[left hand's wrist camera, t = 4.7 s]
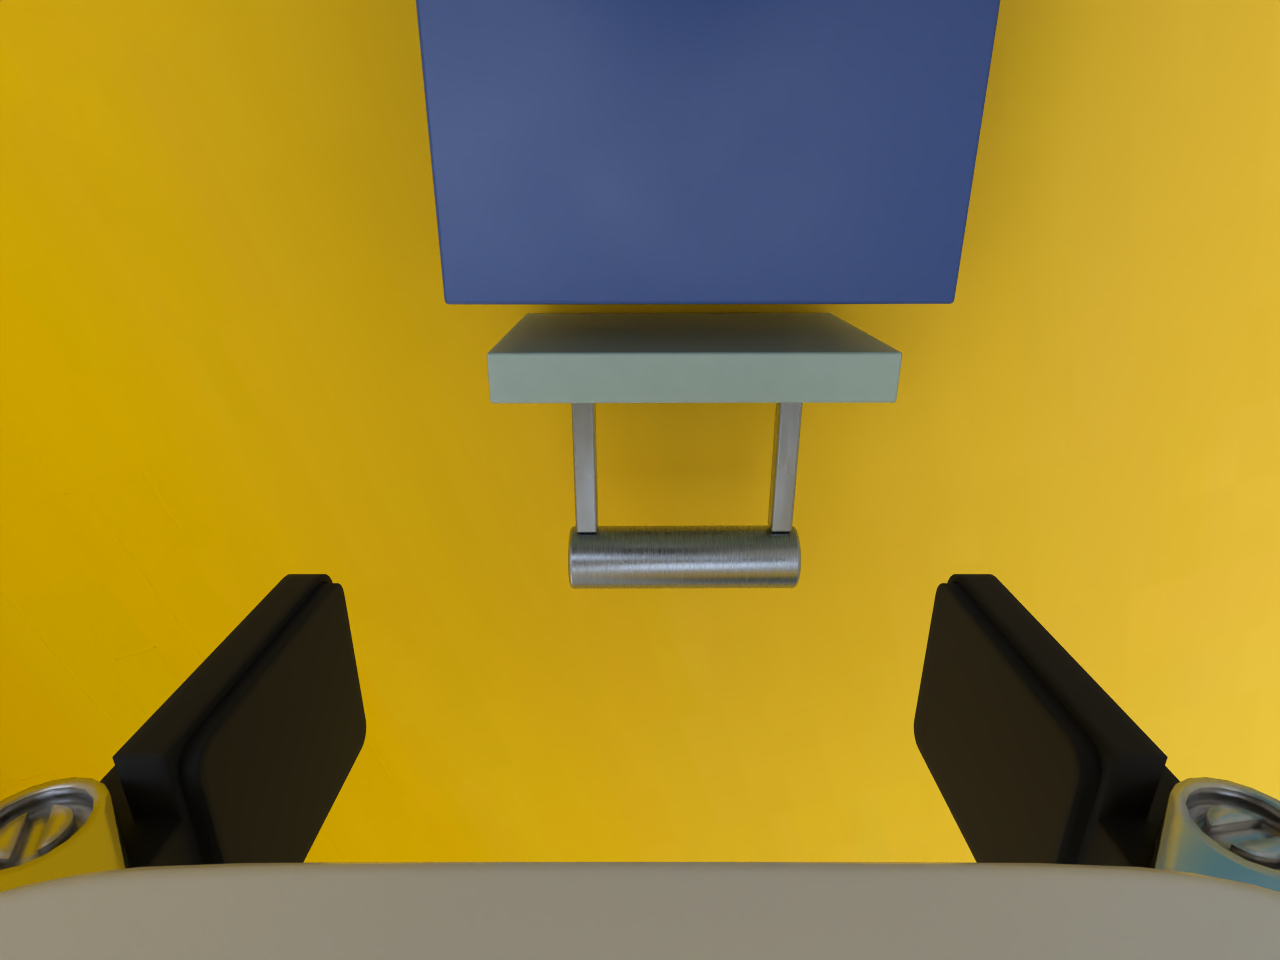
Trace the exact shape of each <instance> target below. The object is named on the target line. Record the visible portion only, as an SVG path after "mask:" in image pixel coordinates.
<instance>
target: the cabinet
mask: <svg viewBox="0 0 1280 960" xmlns="http://www.w3.org/2000/svg"><path fill="white" fill-rule="evenodd" d="M999 5H1000V0H416V6H417V17H418V27H419V37H420V48H421V58H422V69H423V79H424V90H425V100H426V110H427V121H428V131H429V142H430V152H431V162H432V173H433V183H434V194H435V204H436V214H437V225H438V235H439V246H440V256H441V267H442V277H443V287H444V298H445V302H446V303H447V304H950V303H953V301H954V297H955V291H956V284H957V278H958V271H959V265H960V258H961V252H962V245H963V239H964V232H965V226H966V219H967V213H968V206H969V200H970V193H971V187H972V180H973V174H974V167H975V161H976V154H977V148H978V141H979V135H980V128H981V122H982V115H983V109H984V102H985V96H986V89H987V83H988V76H989V70H990V63H991V57H992V50H993V44H994V37H995V31H996V24H997V18H998V11H999Z"/></svg>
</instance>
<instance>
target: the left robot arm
mask: <svg viewBox="0 0 1280 960" xmlns="http://www.w3.org/2000/svg"><path fill="white" fill-rule="evenodd" d="M365 735H366V719H365V713H364V708H363V702H362V696H361V690H360V684H359V678H358V672H357V666H356V660H355V655H354V649H353V643H352V637H351V631H350V625H349V619H348V613H347V607H346V602H345V596H344V591H343V588H342V586H341V585H340V584H339V583H332V580H331V579H330V577H329V576H328V575H326V574H288V575H287V576H285V577H284V578H283V579H282V580H281V581H280V582H279V583H278V584H277V585H276V586H275V587H274V588H273V589H272V590H271V592H270V593H269V594H268V595H267V596H266V597H265V598H264V599H263V600H262V601H261V602H260V603H259V604H258V605H257V606H256V607H255V608H254V609H253V610H252V611H251V612H250V614H249V615H248V616H247V617H246V618H245V619H244V620H243V621H242V622H241V623H240V624H239V625H238V626H237V627H236V628H235V629H234V630H233V631H232V632H231V633H230V634H229V636H228V637H227V638H226V639H225V640H224V641H223V642H222V643H221V644H220V645H219V646H218V647H217V648H216V649H215V650H214V651H213V652H212V653H211V654H210V655H209V656H208V658H207V659H206V660H205V661H204V662H203V663H202V664H201V665H200V666H199V667H198V668H197V669H196V670H195V671H194V672H193V673H192V674H191V675H190V676H189V677H188V678H187V680H186V681H185V682H184V683H183V684H182V685H181V686H180V687H179V688H178V689H177V690H176V691H175V692H174V693H173V694H172V695H171V696H170V697H169V698H168V699H167V700H166V702H165V703H164V704H163V705H162V706H161V707H160V708H159V709H158V710H157V711H156V712H155V713H154V714H153V715H152V716H151V717H150V718H149V719H148V720H147V721H146V722H145V724H144V725H143V726H142V727H141V728H140V729H139V730H138V731H137V732H136V733H135V734H134V735H133V736H132V737H131V738H130V739H129V740H128V741H127V742H126V743H125V744H124V746H123V747H122V748H121V749H120V750H119V751H118V752H117V753H116V754H115V755H114V756H113V760H114V763H115V766H114V767H113V768H112V769H111V770H110V771H109V773H108V774H107V775H106V776H105V777H104V778H103V779H102V780H101V781H100V782H99V781H96V780H94V779H92V778H77V777H73V778H66V779H59V780H53V781H49V782H46V783H43V784H40V785H36V786H33V787H30V788H27V789H25V790H23V791H21V792H18V793H16V794H14V795H12V796H10V797H8V798H5V799H3V800H2V801H0V960H1280V801H1278V800H1277V799H1275V798H1272V797H1270V796H1268V795H1266V794H1264V793H1262V792H1259V791H1257V790H1255V789H1253V788H1250V787H1247V786H1244V785H1240V784H1237V783H1234V782H1231V781H1227V780H1221V779H1214V778H1207V777H1203V778H1188V779H1186V780H1184V781H1181V782H1180V781H1179V780H1178V779H1177V778H1176V777H1175V776H1174V775H1173V774H1172V773H1171V771H1170V770H1169V769H1168V768H1167V767H1166V766H1165V763H1166V760H1167V756H1166V755H1165V754H1164V753H1163V752H1162V751H1161V750H1160V749H1159V748H1158V747H1157V746H1156V744H1155V743H1154V742H1153V741H1152V740H1151V739H1150V738H1149V737H1148V736H1147V735H1146V734H1145V733H1144V732H1143V731H1142V730H1141V729H1140V728H1139V727H1138V726H1137V725H1136V724H1135V722H1134V721H1133V720H1132V719H1131V718H1130V717H1129V716H1128V715H1127V714H1126V713H1125V712H1124V711H1123V710H1122V709H1121V708H1120V707H1119V706H1118V705H1117V704H1116V703H1115V702H1114V700H1113V699H1112V698H1111V697H1110V696H1109V695H1108V694H1107V693H1106V692H1105V691H1104V690H1103V689H1102V688H1101V687H1100V686H1099V685H1098V684H1097V683H1096V682H1095V681H1094V680H1093V678H1092V677H1091V676H1090V675H1089V674H1088V673H1087V672H1086V671H1085V670H1084V669H1083V668H1082V667H1081V666H1080V665H1079V664H1078V663H1077V662H1076V661H1075V660H1074V659H1073V658H1072V656H1071V655H1070V654H1069V653H1068V652H1067V651H1066V650H1065V649H1064V648H1063V647H1062V646H1061V645H1060V644H1059V643H1058V642H1057V641H1056V640H1055V639H1054V638H1053V637H1052V636H1051V634H1050V633H1049V632H1048V631H1047V630H1046V629H1045V628H1044V627H1043V626H1042V625H1041V624H1040V623H1039V622H1038V621H1037V620H1036V619H1035V618H1034V617H1033V616H1032V615H1031V614H1030V612H1029V611H1028V610H1027V609H1026V608H1025V607H1024V606H1023V605H1022V604H1021V603H1020V602H1019V601H1018V600H1017V599H1016V598H1015V597H1014V596H1013V595H1012V594H1011V593H1010V592H1009V590H1008V589H1007V588H1006V587H1005V586H1004V585H1003V584H1002V583H1001V582H1000V581H999V580H998V579H997V578H996V577H995V576H993V575H992V574H954V575H952V576H951V577H950V579H949V580H948V583H941V584H940V585H939V586H938V588H937V591H936V596H935V602H934V607H933V613H932V619H931V625H930V631H929V637H928V643H927V649H926V655H925V660H924V666H923V672H922V678H921V684H920V690H919V696H918V702H917V708H916V713H915V719H914V735H915V740H916V744H917V746H918V749H919V751H920V752H921V754H922V756H923V758H924V760H925V762H926V764H927V766H928V768H929V770H930V772H931V774H932V776H933V778H934V780H935V782H936V784H937V786H938V788H939V790H940V792H941V794H942V795H943V797H944V799H945V801H946V803H947V805H948V807H949V809H950V811H951V813H952V815H953V817H954V819H955V821H956V823H957V825H958V827H959V829H960V831H961V833H962V835H963V836H964V838H965V840H966V842H967V844H968V846H969V848H970V850H971V852H972V854H973V856H974V858H975V860H976V862H977V863H928V862H351V863H303V862H304V860H305V858H306V856H307V854H308V852H309V850H310V848H311V846H312V844H313V842H314V840H315V838H316V836H317V835H318V833H319V831H320V829H321V827H322V825H323V823H324V821H325V819H326V817H327V815H328V813H329V811H330V809H331V807H332V805H333V803H334V801H335V799H336V797H337V795H338V793H339V792H340V790H341V788H342V786H343V784H344V782H345V780H346V778H347V776H348V774H349V772H350V770H351V768H352V766H353V764H354V762H355V760H356V758H357V756H358V754H359V752H360V751H361V749H362V746H363V744H364V740H365Z"/></svg>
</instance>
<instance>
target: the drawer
mask: <svg viewBox="0 0 1280 960" xmlns="http://www.w3.org/2000/svg"><path fill="white" fill-rule="evenodd" d="M901 359H902V353H901V352H899V351H897V350H896V349H894V348H892V347H890V346H888V345H887V344H885V343H883V342H881V341H879V340H878V339H876V338H874V337H872V336H870V335H869V334H867V333H865V332H863V331H861V330H860V329H858V328H856V327H854V326H852V325H850V324H849V323H847V322H845V321H843V320H841V319H840V318H838V317H836V316H834V315H832V314H831V313H528V314H526V315H525V316H524V317H523V318H522V319H521V320H520V321H519V322H518V323H517V324H516V325H515V326H514V327H513V328H512V329H511V330H510V331H509V332H508V333H507V334H506V335H505V336H504V337H503V338H502V339H501V340H500V341H499V342H498V343H497V344H496V345H495V346H494V347H493V348H492V349H491V350H490V351H489V352H488V354H487V365H488V377H489V390H490V401H491V403H572V428H573V456H574V484H575V512H576V526H574V527H572V528H571V530H570V535H569V551H568V568H569V582H570V585H571V588H574V589H596V588H793V587H796V585H797V584H798V581H799V577H800V569H801V550H800V542H799V537H798V533H797V531H796V529H795V527H793V526H792V521H793V509H794V497H795V485H796V473H797V461H798V449H799V437H800V425H801V413H802V403H893V402H895V401H896V397H897V389H898V382H899V374H900V367H901ZM595 403H776V413H775V428H774V442H773V456H772V471H771V485H770V499H769V513H768V525H769V526H598V492H597V449H596V406H595Z"/></svg>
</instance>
